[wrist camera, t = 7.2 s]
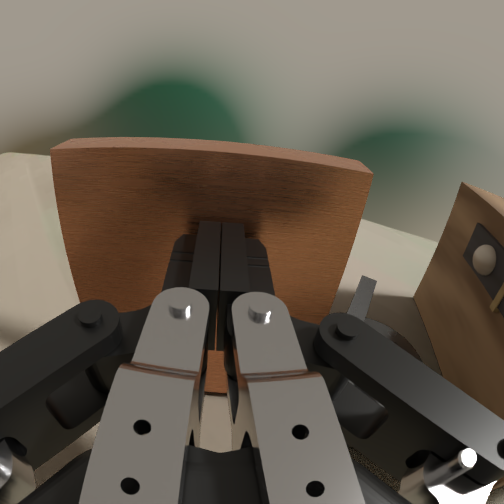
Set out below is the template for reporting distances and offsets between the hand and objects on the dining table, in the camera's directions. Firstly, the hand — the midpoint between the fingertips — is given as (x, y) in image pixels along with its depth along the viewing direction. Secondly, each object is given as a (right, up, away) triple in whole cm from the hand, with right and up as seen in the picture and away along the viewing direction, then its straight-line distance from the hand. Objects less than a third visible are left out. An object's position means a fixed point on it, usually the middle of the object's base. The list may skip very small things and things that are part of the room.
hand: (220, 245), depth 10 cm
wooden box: (+20, -11, +7) cm, 24 cm away
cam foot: (+2, -8, +6) cm, 11 cm away
